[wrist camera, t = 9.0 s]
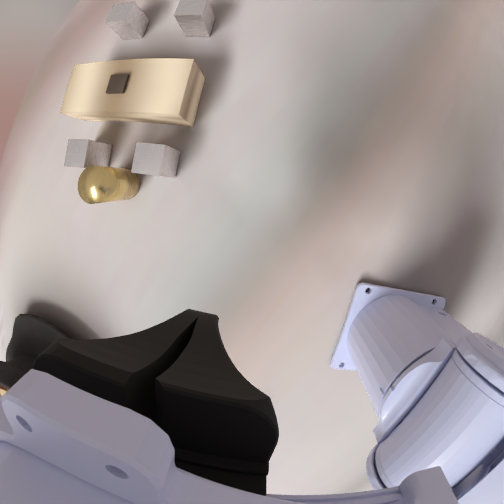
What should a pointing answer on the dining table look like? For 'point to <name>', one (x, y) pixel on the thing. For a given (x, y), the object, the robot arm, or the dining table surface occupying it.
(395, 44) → the dining table surface
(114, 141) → the dining table surface
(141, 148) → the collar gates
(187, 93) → the bar
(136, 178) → the gold capsule
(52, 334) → the casserole
